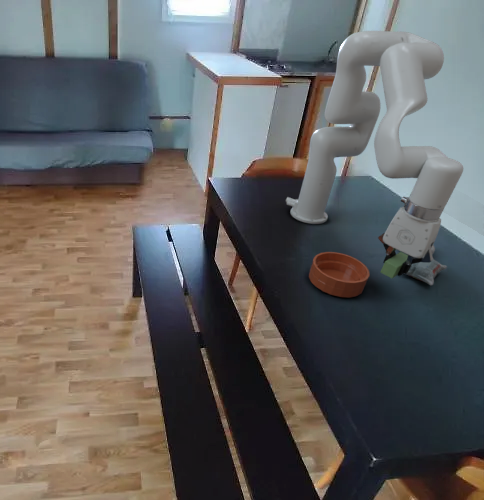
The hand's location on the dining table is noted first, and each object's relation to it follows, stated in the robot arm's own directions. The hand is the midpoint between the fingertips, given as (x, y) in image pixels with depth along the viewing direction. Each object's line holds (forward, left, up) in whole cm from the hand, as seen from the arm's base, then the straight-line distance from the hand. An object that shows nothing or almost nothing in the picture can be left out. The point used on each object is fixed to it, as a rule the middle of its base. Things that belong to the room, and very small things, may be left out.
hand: (394, 269), depth 107 cm
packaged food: (+6, +14, -7) cm, 17 cm away
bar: (0, 0, 0) cm, 0 cm away
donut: (+2, +28, -7) cm, 29 cm away
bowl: (-12, -6, -7) cm, 15 cm away
